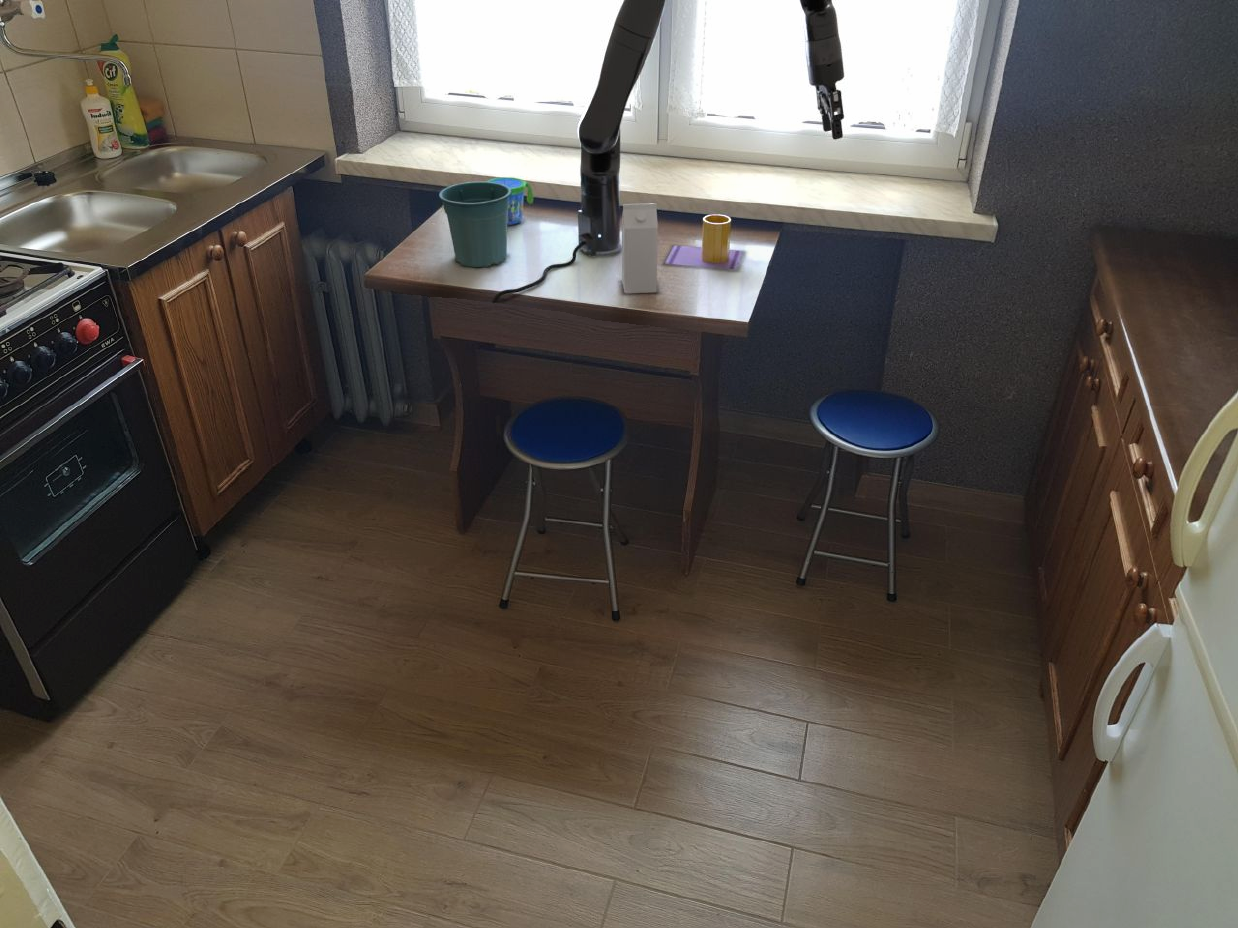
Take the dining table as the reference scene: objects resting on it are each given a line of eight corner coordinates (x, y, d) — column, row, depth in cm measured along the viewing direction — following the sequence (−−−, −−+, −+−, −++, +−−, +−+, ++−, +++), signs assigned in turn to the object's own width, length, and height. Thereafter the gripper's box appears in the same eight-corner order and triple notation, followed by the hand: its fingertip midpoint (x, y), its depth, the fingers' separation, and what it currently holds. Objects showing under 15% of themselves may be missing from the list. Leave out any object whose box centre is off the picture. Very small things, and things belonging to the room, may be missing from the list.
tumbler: (712, 265, 223) (714, 226, 218) (696, 256, 228) (697, 217, 223) (734, 259, 226) (736, 220, 221) (717, 251, 231) (719, 212, 225)
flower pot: (432, 259, 228) (424, 192, 219) (484, 240, 238) (479, 176, 229) (476, 277, 219) (470, 208, 210) (529, 257, 229) (525, 191, 220)
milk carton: (621, 281, 216) (621, 199, 206) (652, 280, 217) (654, 198, 206) (624, 294, 211) (624, 210, 200) (656, 293, 211) (658, 209, 200)
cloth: (664, 264, 225) (664, 263, 224) (674, 246, 234) (674, 245, 234) (736, 271, 221) (736, 269, 221) (743, 252, 231) (743, 251, 231)
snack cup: (524, 210, 256) (521, 172, 251) (543, 221, 249) (541, 182, 243) (471, 221, 249) (468, 183, 244) (490, 233, 242) (486, 194, 236)
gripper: (800, 59, 213) (809, 132, 221) (814, 68, 201) (824, 145, 209) (833, 50, 212) (841, 124, 220) (850, 59, 200) (858, 137, 208)
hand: (833, 134), depth 214 cm, fingers open, 8 cm apart
